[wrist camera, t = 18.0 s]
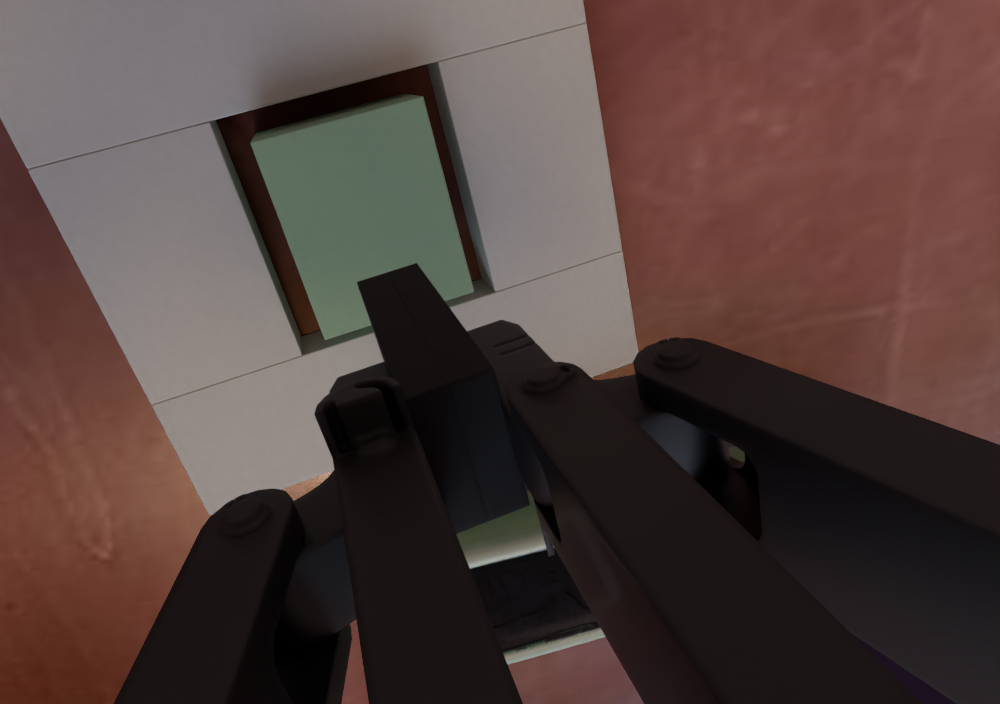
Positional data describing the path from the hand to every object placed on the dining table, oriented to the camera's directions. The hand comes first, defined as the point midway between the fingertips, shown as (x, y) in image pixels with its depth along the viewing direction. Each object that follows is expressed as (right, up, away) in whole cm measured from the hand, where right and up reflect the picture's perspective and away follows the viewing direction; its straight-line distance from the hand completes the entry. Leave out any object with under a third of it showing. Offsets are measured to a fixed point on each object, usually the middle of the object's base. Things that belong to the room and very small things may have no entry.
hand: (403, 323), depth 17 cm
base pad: (-4, +6, +14) cm, 16 cm away
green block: (-4, +6, +14) cm, 16 cm away
